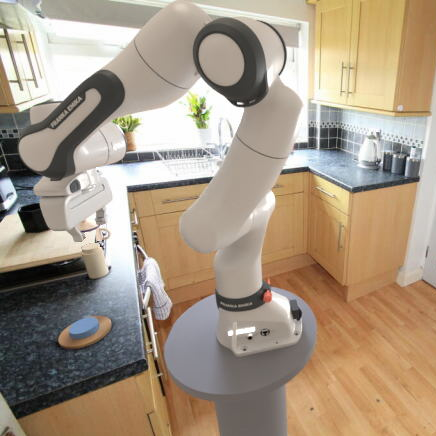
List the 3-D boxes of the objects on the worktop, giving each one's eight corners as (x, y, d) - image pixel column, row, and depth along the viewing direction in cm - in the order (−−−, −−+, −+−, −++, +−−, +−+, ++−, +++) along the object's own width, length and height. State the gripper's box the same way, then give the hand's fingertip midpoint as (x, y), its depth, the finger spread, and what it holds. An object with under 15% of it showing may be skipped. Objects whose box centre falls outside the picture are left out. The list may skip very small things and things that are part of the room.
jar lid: (64, 335, 80) (62, 329, 79) (89, 319, 85) (87, 314, 84) (80, 342, 78) (78, 337, 77) (104, 326, 83) (103, 321, 82)
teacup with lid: (72, 253, 117) (63, 225, 113) (83, 242, 125) (74, 215, 121) (109, 250, 120) (101, 222, 116) (117, 239, 128) (110, 212, 124)
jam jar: (112, 268, 109) (104, 241, 105) (103, 278, 104) (95, 250, 99) (94, 269, 108) (86, 242, 104) (85, 279, 103) (75, 250, 99)
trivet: (119, 316, 87) (118, 314, 87) (97, 347, 77) (97, 345, 77) (76, 319, 86) (75, 316, 86) (48, 350, 76) (47, 348, 76)
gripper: (85, 166, 81) (100, 215, 87) (26, 191, 63) (49, 252, 68) (111, 165, 82) (124, 215, 87) (61, 190, 63) (81, 251, 69)
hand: (91, 231), depth 78 cm, fingers open, 8 cm apart
